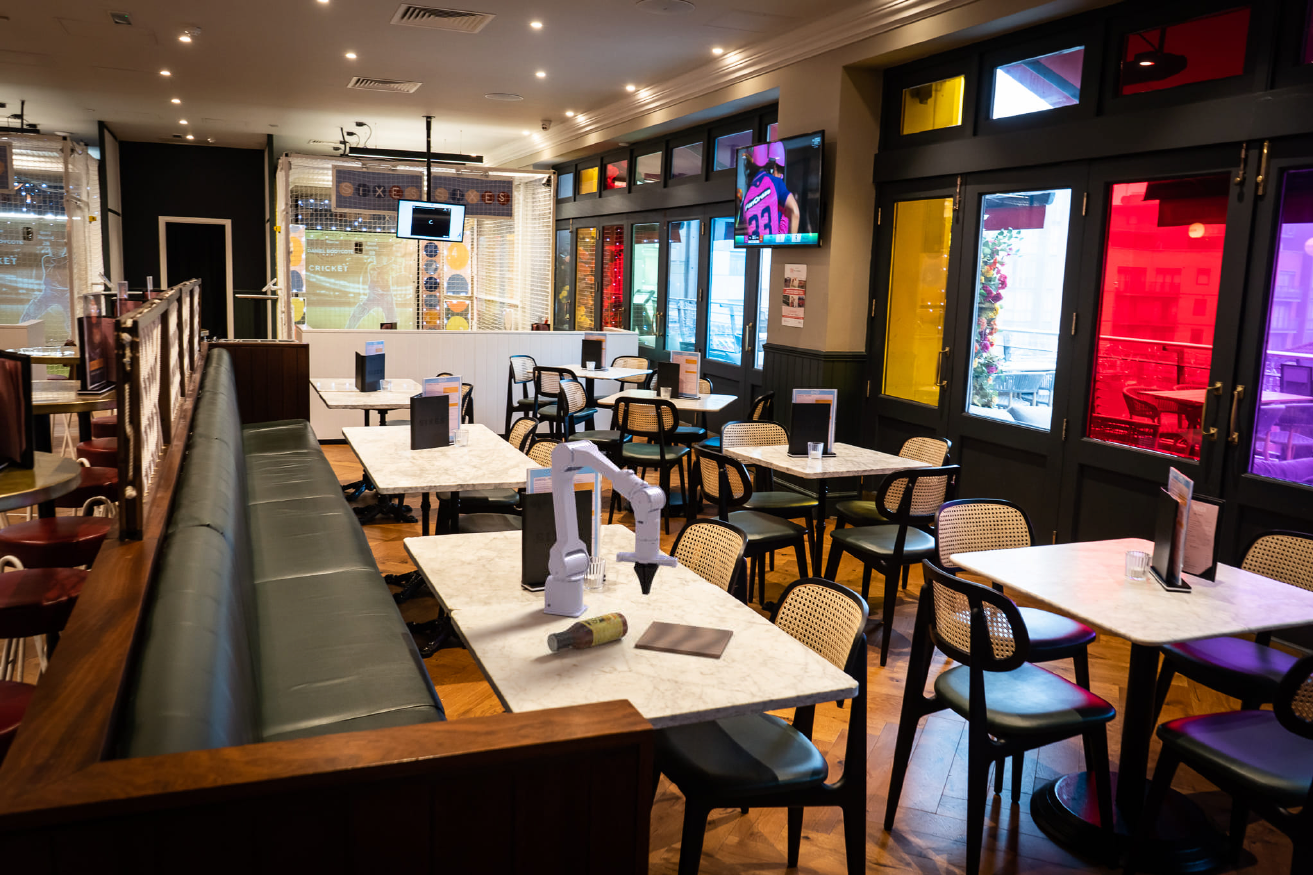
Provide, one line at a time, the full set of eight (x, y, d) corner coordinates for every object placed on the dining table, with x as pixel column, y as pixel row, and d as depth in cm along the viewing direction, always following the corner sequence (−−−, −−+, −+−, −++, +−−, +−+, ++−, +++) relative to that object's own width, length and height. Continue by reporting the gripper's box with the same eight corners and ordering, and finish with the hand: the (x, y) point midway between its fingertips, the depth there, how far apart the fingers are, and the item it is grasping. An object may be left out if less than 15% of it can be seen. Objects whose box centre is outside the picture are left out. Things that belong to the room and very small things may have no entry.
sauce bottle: (626, 609, 220) (558, 627, 207) (631, 636, 219) (564, 655, 206) (609, 612, 225) (542, 630, 212) (614, 638, 224) (547, 657, 211)
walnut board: (635, 647, 216) (635, 643, 216) (653, 624, 231) (653, 621, 231) (720, 658, 211) (720, 654, 211) (733, 633, 226) (733, 630, 226)
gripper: (612, 539, 218) (611, 595, 220) (673, 544, 214) (671, 601, 216) (621, 531, 225) (620, 586, 227) (680, 537, 221) (678, 592, 223)
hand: (646, 593), depth 222 cm, fingers closed
